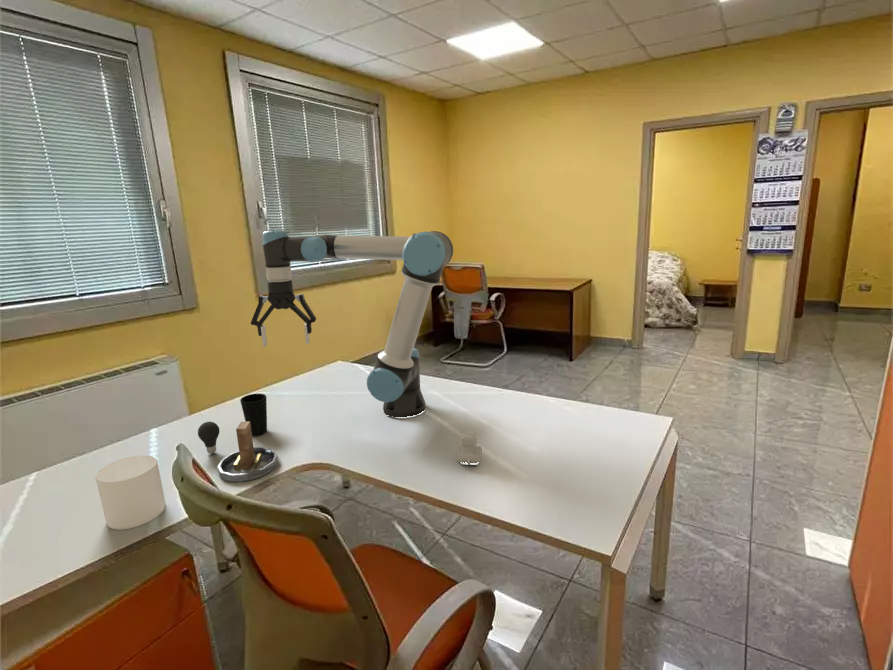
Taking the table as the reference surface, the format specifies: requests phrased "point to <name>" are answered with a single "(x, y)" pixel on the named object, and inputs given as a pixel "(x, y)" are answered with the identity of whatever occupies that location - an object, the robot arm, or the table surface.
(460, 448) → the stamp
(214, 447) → the light bulb
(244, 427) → the tapered wood plank
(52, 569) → the table surface
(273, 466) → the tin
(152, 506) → the cup
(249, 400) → the cup
